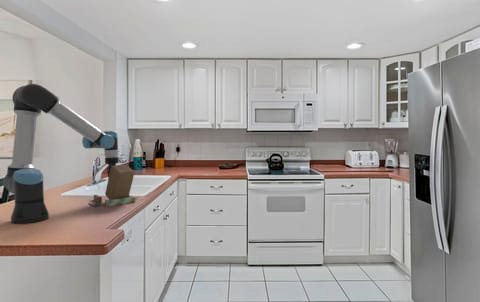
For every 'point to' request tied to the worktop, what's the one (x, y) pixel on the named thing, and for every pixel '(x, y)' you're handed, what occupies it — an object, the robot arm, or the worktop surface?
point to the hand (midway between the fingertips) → (113, 195)
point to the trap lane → (112, 201)
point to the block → (119, 182)
